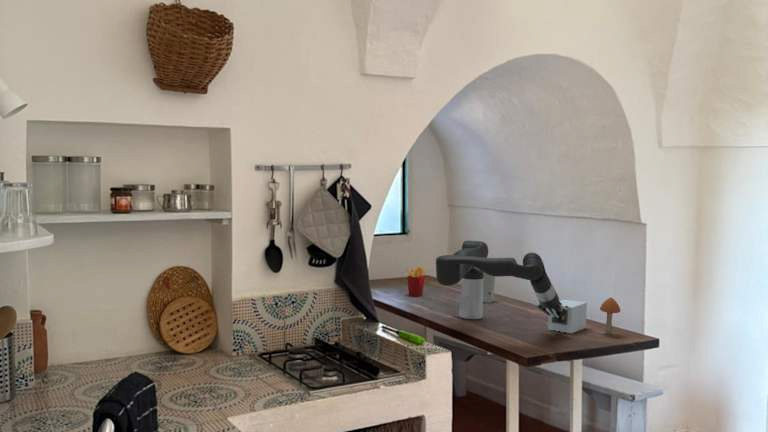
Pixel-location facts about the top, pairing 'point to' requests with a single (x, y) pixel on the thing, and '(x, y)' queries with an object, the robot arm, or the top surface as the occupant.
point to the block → (570, 317)
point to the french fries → (416, 282)
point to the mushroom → (609, 313)
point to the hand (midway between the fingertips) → (559, 320)
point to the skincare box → (488, 288)
